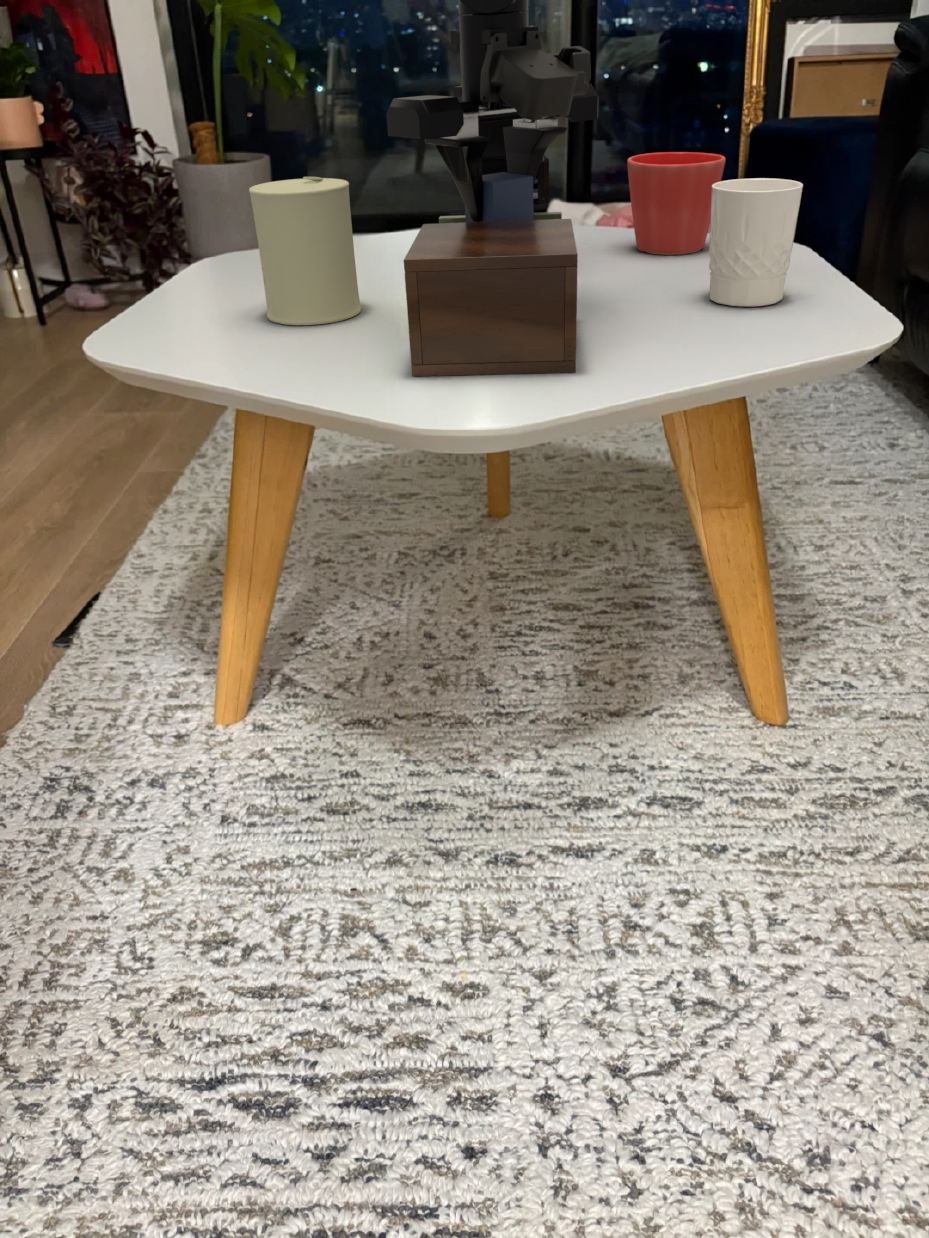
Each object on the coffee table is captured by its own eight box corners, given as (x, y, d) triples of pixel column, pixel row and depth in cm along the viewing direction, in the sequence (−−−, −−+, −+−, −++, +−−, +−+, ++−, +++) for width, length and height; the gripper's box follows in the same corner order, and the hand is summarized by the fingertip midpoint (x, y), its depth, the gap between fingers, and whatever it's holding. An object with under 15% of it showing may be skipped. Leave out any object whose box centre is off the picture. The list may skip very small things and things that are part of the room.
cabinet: (429, 326, 89) (423, 224, 85) (569, 322, 88) (571, 218, 84) (412, 376, 77) (403, 259, 72) (575, 372, 76) (577, 253, 71)
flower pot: (737, 250, 111) (746, 157, 106) (652, 262, 108) (657, 166, 103) (687, 236, 120) (693, 148, 115) (607, 246, 117) (610, 157, 112)
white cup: (791, 309, 89) (807, 190, 83) (702, 309, 90) (712, 192, 85) (785, 288, 95) (799, 177, 90) (702, 288, 97) (711, 179, 91)
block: (465, 230, 89) (463, 177, 87) (504, 223, 91) (503, 172, 89) (494, 236, 86) (492, 182, 83) (533, 229, 88) (533, 176, 85)
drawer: (447, 279, 101) (443, 204, 97) (559, 276, 100) (560, 200, 96) (431, 326, 85) (426, 239, 82) (564, 323, 85) (565, 235, 81)
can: (376, 303, 98) (365, 172, 91) (337, 327, 90) (321, 187, 84) (294, 299, 100) (277, 172, 94) (249, 323, 93) (228, 187, 87)
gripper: (453, 15, 70) (463, 245, 78) (646, 6, 78) (637, 214, 86) (375, 20, 78) (392, 228, 86) (558, 11, 86) (557, 201, 94)
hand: (498, 218), depth 88 cm, fingers closed on block, 4 cm apart
